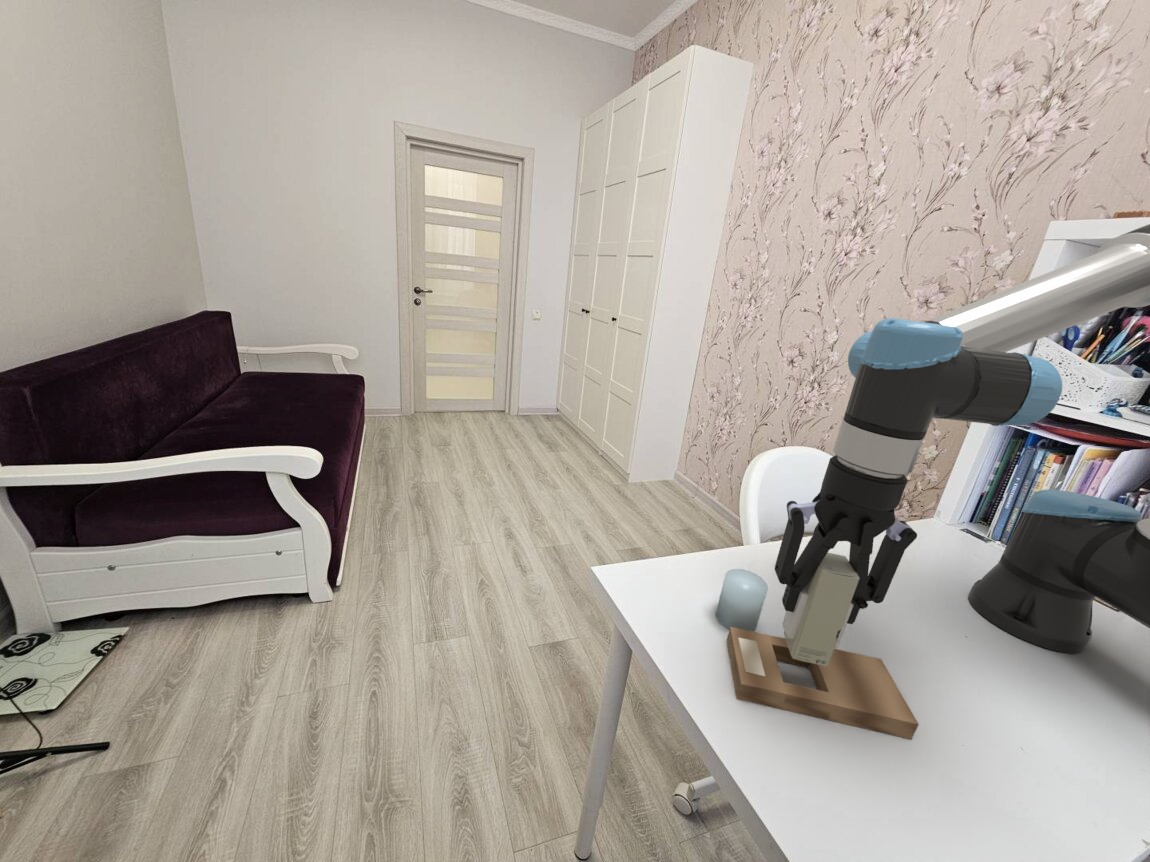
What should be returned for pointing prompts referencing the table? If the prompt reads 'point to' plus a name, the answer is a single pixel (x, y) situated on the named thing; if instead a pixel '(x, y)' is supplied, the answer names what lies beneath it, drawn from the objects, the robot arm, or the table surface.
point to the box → (824, 610)
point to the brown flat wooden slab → (820, 685)
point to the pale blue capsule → (741, 600)
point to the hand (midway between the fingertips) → (808, 635)
